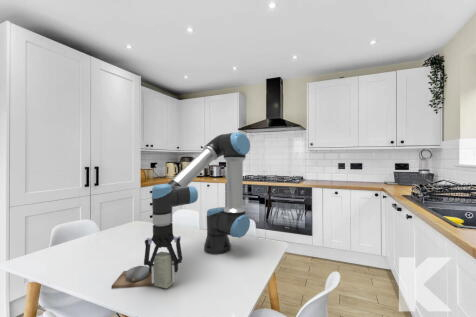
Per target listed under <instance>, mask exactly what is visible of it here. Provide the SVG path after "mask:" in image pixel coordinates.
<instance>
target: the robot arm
mask: <svg viewBox="0 0 476 317" xmlns="http://www.w3.org/2000/svg"><path fill="white" fill-rule="evenodd" d="M250 150H251V142H250V139H249V137H248V136H247V135H246V134H245V133H244V132H230V133H224V134H223V133H221V134H220V135H216V136H215V137H214V138H213V139H211V140H210V141H209V142H207V143H206V144H205V145H204V146H203V148H202V150H201V152H200V153H198V155H196V156H195V157H194V158H193V159H192V160H191V161H189V163H188V164H187V165H186V166H185V167H184V168H183V169H181V170H180V171H179V173H177V174H176V175H175V176H174V177H173V178H172V179H171V180H170V181H168V183H163V184H155V185H153V186H152V190H151V200H152V205H151V206H152V224H153V225H152V236H151V237H150V238H149V237H147V238H146V239H145V240H144V245H145V251H144V259H143V266H147V267H149V274H152V283H154V282H155V280H154V258H155V255H156V254H157V253H158V251H159V249H161V248H166V249H167V251H168V253H170V256H171V258H172V260H173V265H172V282H173V283H175V281H176V277H177V275H176V273H178V270H179V264H181V263H182V262H183V253H182V247H181V246H182V245H181V239H182V238H181V236H180V235H179V236H174V232H173V230H174V228H173V207H180V206H184V205H191V204H195V203H197V201H198V199H199V192H198V189H197V188H196V187H195V186H192V185H191V186H190V184H191V183H192V182H193V181H194V180H195V178H197V177H198V176H199V175H200V174H201V172H203V171H204V170H205V169H206V168H207V167H208V166H209V165H210V164H211V162H213V161H216V160H218V158H220V157H223V159H224V160H225V162H226V165H225V166H226V172H225V173H226V177H225V178H226V179H225V180H226V181H225V182H226V183H225V184H226V187H225V188H226V190H225V191H226V200H225V203H226V204H225V205H226V206H224V207H223V206H222V207H213V208H209V209H208V210H207V211H206V238H205V242H204V244H203V251H204V252H205V253H206V254H210V255H220V254H226V253H228V252H230V251H231V248H232V245H231V242H230V238H229V236H231V237H233V238H238V239H239V238H243V237H244V236H246V234H247V232H249V229H250V225H251V219H250V218H249V216H248V215H247V214H246V208H244V206H243V198H244V196H243V194H244V192H243V183H244V182H243V179H244V178H243V174H244V169H243V168H244V167H243V163H244V161H245V159H246V157H247V156H246V155H247V154H248V153H249V152H250ZM173 241H174V243H175V247H176V251H175V250H174V247H173V244H172V242H173ZM152 242H153V243H154V245H155V246H154V248H153V252H152V255H151V257H150V254H151V253H150V252H151V244H152ZM175 252H176V253H175ZM176 254H177V255H176Z"/></svg>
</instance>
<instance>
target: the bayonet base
mask: <svg viewBox="0 0 476 317" xmlns="http://www.w3.org/2000/svg"><path fill="white" fill-rule="evenodd" d="M154 286H155V282H154V283H152V274H149V266H148V265H137V266H133V267H130V268H129V269H127V270H123V272H121V274H120V275H119V276H118V277H117V278H116V280H114V282H113V283H112V285H111V290H113V289H115V290H116V289H129V288H144V287H154Z"/></svg>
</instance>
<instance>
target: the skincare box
mask: <svg viewBox="0 0 476 317" xmlns="http://www.w3.org/2000/svg"><path fill="white" fill-rule="evenodd" d="M153 264H154V280H155V284H154V286H155V287H159V288H163V289H168V288H170V287H171V285H173V284H174V282H172V265H173V260H172V258H171V256H170V253H169V252H167V251H159V252H157V254H156V255H155V258H154V262H153Z"/></svg>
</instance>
